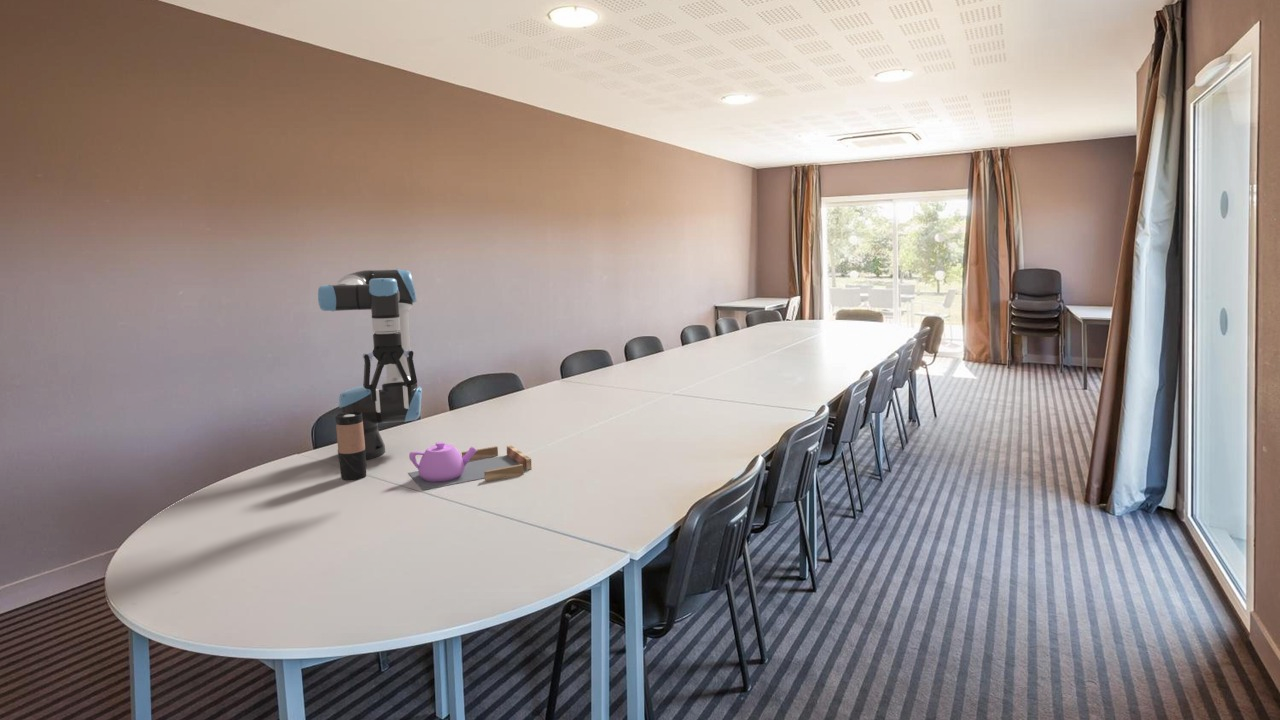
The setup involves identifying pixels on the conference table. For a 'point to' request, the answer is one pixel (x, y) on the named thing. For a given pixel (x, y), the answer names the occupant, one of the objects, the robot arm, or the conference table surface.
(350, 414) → the travel mug
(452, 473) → the teapot
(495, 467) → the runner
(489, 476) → the bay
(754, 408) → the conference table surface
